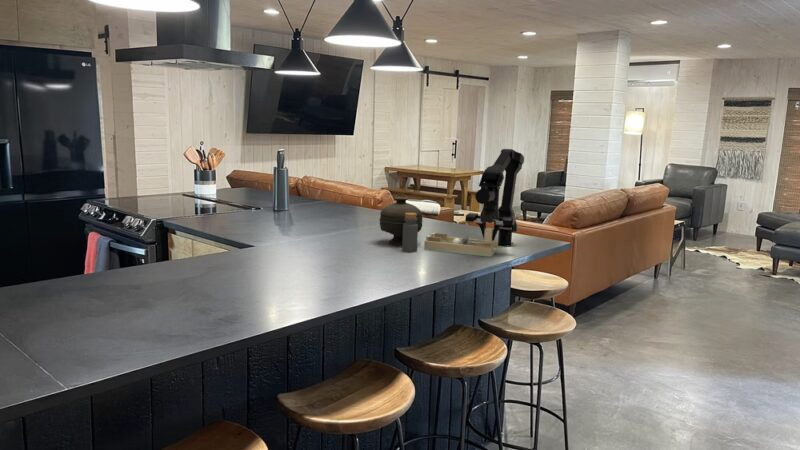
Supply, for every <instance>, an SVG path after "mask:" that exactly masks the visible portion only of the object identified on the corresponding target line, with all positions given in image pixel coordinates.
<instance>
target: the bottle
mask: <svg viewBox="0 0 800 450" xmlns="http://www.w3.org/2000/svg"><path fill="white" fill-rule="evenodd" d="M416 216H417V214H416V213H405V218H404V220H405V221H406V223H404V224H403V242H402V246H401V248H402V249H401V250H402V252H403V253H416V252H418V251H417V250H418V237H419V236H418V233H419V232H418V225H417V224H416V221H417V218H416Z"/></svg>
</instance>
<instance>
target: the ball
mask: <svg viewBox="0 0 800 450" xmlns="http://www.w3.org/2000/svg"><path fill="white" fill-rule="evenodd" d="M458 238H459V237H457V238H455V239H454V240H453V241H452V244H461V240H460V239H458Z"/></svg>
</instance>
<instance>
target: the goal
mask: <svg viewBox="0 0 800 450" xmlns="http://www.w3.org/2000/svg"><path fill="white" fill-rule="evenodd" d="M447 237H448V234H447V233H443V232H440V233H439V232H432V233H430V234H428V235H427V236H425V241H433V242H443V243H447Z"/></svg>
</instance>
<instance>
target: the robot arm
mask: <svg viewBox="0 0 800 450" xmlns="http://www.w3.org/2000/svg"><path fill="white" fill-rule="evenodd" d="M524 163H525V156H524V155H523V153H521V152H518V151H516V150H515V149H512V148H511V149H510V148H503V149H500V154H499V155H498V157H497V158H496V160H495V162H494V163H493V164H492V165H491V166H488V167H486V169H484V171H483V172H482V174H481V178H480V181H479V183H478V187H479V188H480V189H478V190H477V191H476V192H475V201H476V202H477V203H478V204H481V205H482V210H481V212H480V214H479V213H476V212H475V213H474V212H469V213H467V214H466V215H465V220H464V221H465V222H469V223H473V222H474V221H476V222H475V225H477V226H479V229H480V231H481V234H482V238H483V239H484V234H485V229H486V228H487V223H489V224H492V223H493V228H494V231H493V237H492V241H495V238H496V236H497V235H498V236H497V242H498V246H507V247H512V245H514V242H512V241H513V240H512V239H513V238H512V237H513V233H514V232H518V230H517V229H518V224H517V221H516V217H515V216H516V213H515V211H514V209H513V203H514V198H515V197H514V196H515V191H516V183H517V175H518V173H520V172H521V170H522V166H523V164H524ZM504 172H505V176H504ZM503 182H504V183H503ZM502 184H503V190H502V197H501V198H502V199H501V204H500V207H499V201H500V189H501V187H502ZM497 233H498V234H497Z"/></svg>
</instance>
